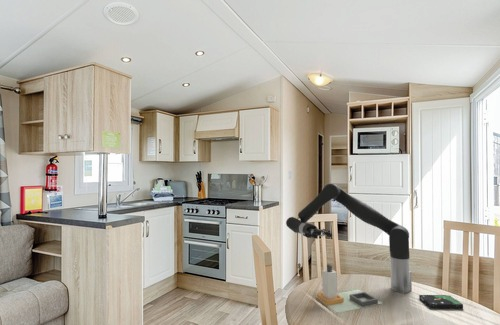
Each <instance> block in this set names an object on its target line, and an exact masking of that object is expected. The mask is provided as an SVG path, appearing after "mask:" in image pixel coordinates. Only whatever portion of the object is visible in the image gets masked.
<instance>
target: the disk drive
mask: <svg viewBox="0 0 500 325" xmlns="http://www.w3.org/2000/svg"><path fill="white" fill-rule="evenodd" d="M418 296H419V297H418V299H419V300H420V301H421V302H422V303H423V304H424V305H425V306H426V307H428V309H429V310H464V303H462V302H460V301H459V300H457V299H455V298H454V297H452V295H449V294H448V295H447V294H419V295H418Z"/></svg>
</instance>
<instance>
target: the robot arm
mask: <svg viewBox="0 0 500 325" xmlns="http://www.w3.org/2000/svg"><path fill="white" fill-rule="evenodd" d="M331 200H333V201H335V202H337V203H338V204H340V205H342V206H343V207H345V208H346V209H347V210H348V211H349V212H350V213H351V214H352V215H353V216H355V217H356V218H358V219H359V220H361V221H363V223H366V224H368V225H370V226H373V227H375V228H377V229H379V230H381V231H383V232H384V233H385V234H387V235H388V236H389V237H388V242H389V247H388V248H389V257H390V258H389V259H390V261H389V262H390V264H389V265H390V289H391V290H392V291H395V292H397V293H402V294H406V293H410V292H411V291H412V290H413V288H412V272H411V271H410V270H411V268H410V265H411V264H410V258H411V257H410V232H409V230H408V229H407V228H406V227H404V226H403V225H401V224H399V223H397V222H394V221H393V220H391V219H389V218H388V217H386V216H385V215H383V214H382V213H380V211H378V210H376V209H375V208H373V207H372V206H371V205H369V204H367V203H366V202H364V201H362V200H361V199H358V198H357V197H355V196H352V194H351V195H350V194H349V193H348V192H347V191H345V190H344V189H342V188H341V187H340V186H339V185H338V184H336V183H328V184H326V185H324V187H323V188H322V190H321V191H320V192H319V193H318V194H317V196H316V197H315V198H314V199H313V200H311V201H310V203H309V204H307V205H306V206H305V207H304V208H302V209H301V210H300V211H299V212H298V214H297V215H298V218H299V219H298V218H297V217H294V216H291V217H290V216H289V217H288V218H287V219H286V221H285V224H286V227H288V228H289V229H290V230H291V231H293V232H294V233H295V234H297V233H298V234H301V235H302V236H303V237H306V238H307V239H308V238H310V239H315V240H318V238H319V237H325V236H326V237H329V238H332V237H333V234H332V232H331V230H330V229H326V228H322V229H320V228H318V227H317V226H316V225H315V224H312V223H309V222H308V221H310V219H312V218H313V217H314V216H315V215H316V214H317V213H318V211H319V210H320V209H321V208H322V207H323V206H324V205H326V204H327V203H328V202H330V201H331Z"/></svg>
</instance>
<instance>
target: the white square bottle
mask: <svg viewBox="0 0 500 325" xmlns="http://www.w3.org/2000/svg"><path fill="white" fill-rule="evenodd" d="M321 272H322V274H321V275H322V281H321V282H322V293H323V297H325V298H326V299H328V300H331V299H336V298H337V293H338V271H336V270H334V269H333V264H332V263H331V264H330V263H329V264H328V263H327V264H326V269H322V270H321Z"/></svg>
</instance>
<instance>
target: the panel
mask: <svg viewBox="0 0 500 325" xmlns="http://www.w3.org/2000/svg"><path fill="white" fill-rule="evenodd" d="M315 299H316V301H317V302H320V303H321V305H323V304H324V305H323V306H325V308H327V309H329V311H331V312H333V314H334V315H336V314H340V313H344V312H348V311H353V310H357V309H361V308H362V309H363V308H367V307H373V306H375V305H381V304H383V302H382V301H380V300H379V299H378V298H376V297H374V296H373V295H370V294H369V293H367V292H365V291H362V290H360V289H358V288H357V289H353V290H349V291H342V292H337V298H336V299H331V300H328V299H326V298H325V297H323V292H319V293H317V294H316V297H315ZM330 309H331V310H330ZM334 312H335V313H336V314H335V313H334Z"/></svg>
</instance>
